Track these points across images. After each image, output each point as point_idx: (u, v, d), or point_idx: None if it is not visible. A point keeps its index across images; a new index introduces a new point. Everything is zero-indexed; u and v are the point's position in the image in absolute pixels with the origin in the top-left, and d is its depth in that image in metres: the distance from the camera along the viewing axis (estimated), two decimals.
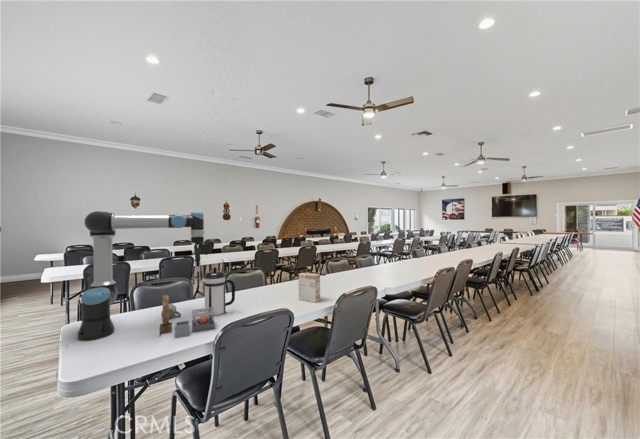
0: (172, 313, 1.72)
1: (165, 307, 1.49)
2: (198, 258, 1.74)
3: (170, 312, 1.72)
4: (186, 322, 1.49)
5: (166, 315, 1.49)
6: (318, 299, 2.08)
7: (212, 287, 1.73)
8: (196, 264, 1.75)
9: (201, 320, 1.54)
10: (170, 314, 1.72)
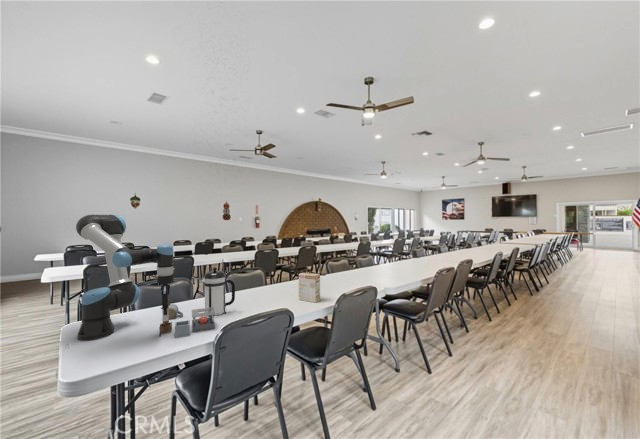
0: (174, 313, 1.73)
1: None
2: (165, 306, 1.45)
3: (172, 312, 1.72)
4: (186, 322, 1.49)
5: None
6: (318, 299, 2.08)
7: (212, 287, 1.73)
8: (163, 312, 1.48)
9: (201, 320, 1.54)
10: (172, 314, 1.72)
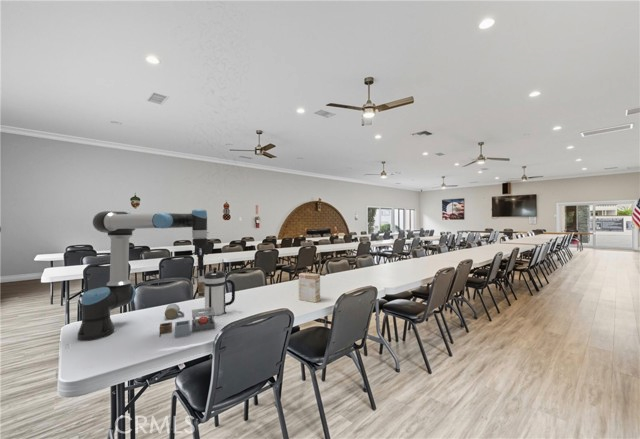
0: (175, 313, 1.73)
1: None
2: (201, 267, 1.51)
3: (173, 312, 1.72)
4: (186, 322, 1.49)
5: None
6: (318, 299, 2.08)
7: (212, 287, 1.73)
8: (199, 274, 1.53)
9: (201, 320, 1.54)
10: (173, 314, 1.72)
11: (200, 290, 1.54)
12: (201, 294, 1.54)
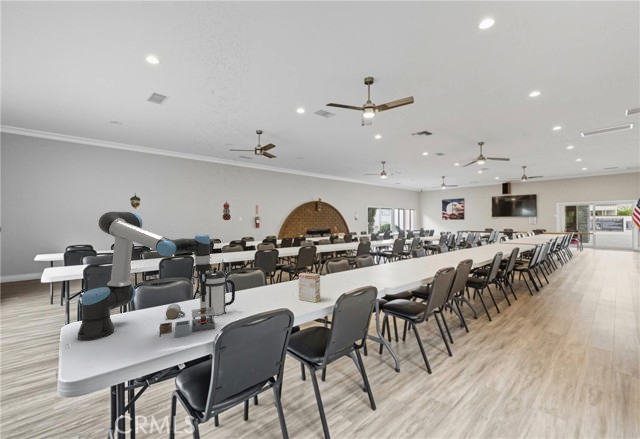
0: (176, 313, 1.73)
1: None
2: (204, 293, 1.51)
3: (174, 312, 1.73)
4: (186, 322, 1.49)
5: None
6: (318, 299, 2.08)
7: (212, 287, 1.73)
8: (201, 299, 1.53)
9: (201, 322, 1.54)
10: (174, 314, 1.73)
11: None
12: (203, 319, 1.54)
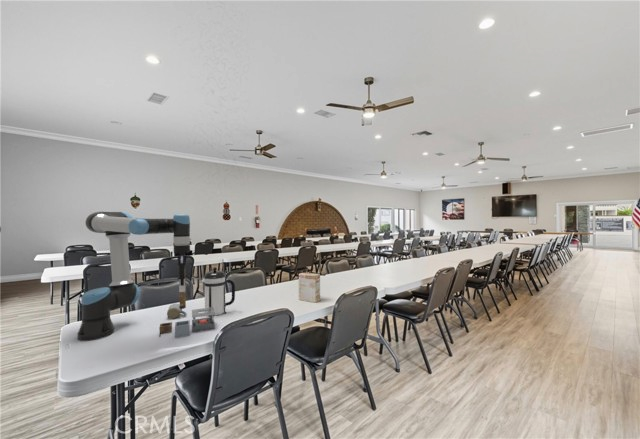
0: (178, 312, 1.73)
1: None
2: (182, 276, 1.42)
3: (176, 311, 1.73)
4: (186, 322, 1.49)
5: None
6: (318, 299, 2.08)
7: (212, 287, 1.73)
8: (180, 283, 1.44)
9: (201, 322, 1.54)
10: (176, 313, 1.73)
11: (181, 302, 1.45)
12: (182, 307, 1.45)
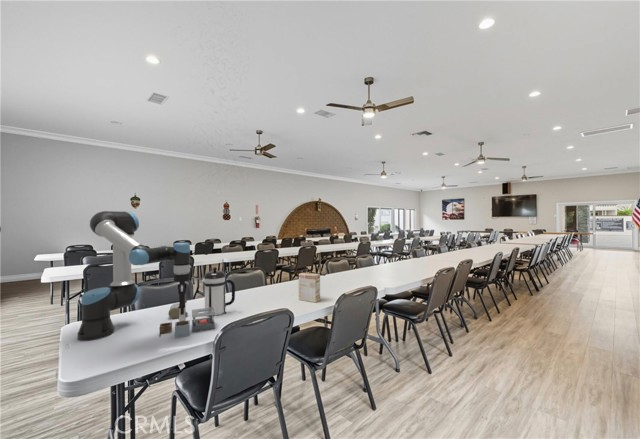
0: None
1: None
2: (182, 305, 1.40)
3: (177, 311, 1.73)
4: (186, 322, 1.49)
5: None
6: (318, 299, 2.08)
7: (212, 287, 1.73)
8: (180, 312, 1.42)
9: (201, 322, 1.54)
10: (177, 313, 1.73)
11: None
12: None
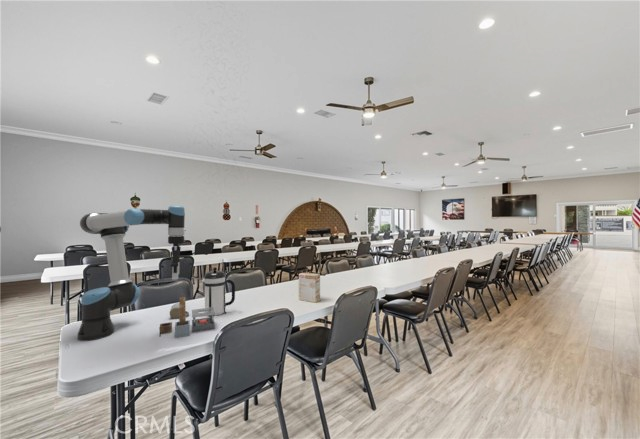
0: None
1: (182, 309, 1.45)
2: (175, 263, 1.40)
3: (178, 311, 1.73)
4: (186, 322, 1.49)
5: (183, 317, 1.45)
6: (318, 299, 2.08)
7: (212, 287, 1.73)
8: (173, 270, 1.42)
9: (201, 322, 1.54)
10: (178, 313, 1.73)
11: None
12: None
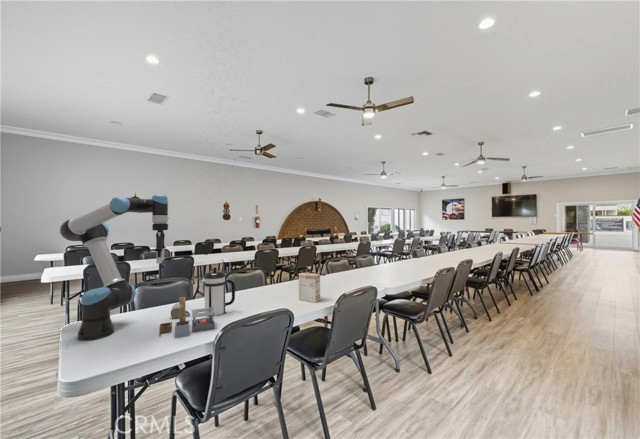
0: None
1: (182, 309, 1.45)
2: (159, 248, 1.49)
3: None
4: (186, 322, 1.49)
5: (183, 317, 1.45)
6: (318, 299, 2.08)
7: (212, 287, 1.73)
8: (157, 255, 1.51)
9: (201, 322, 1.54)
10: None
11: None
12: None
